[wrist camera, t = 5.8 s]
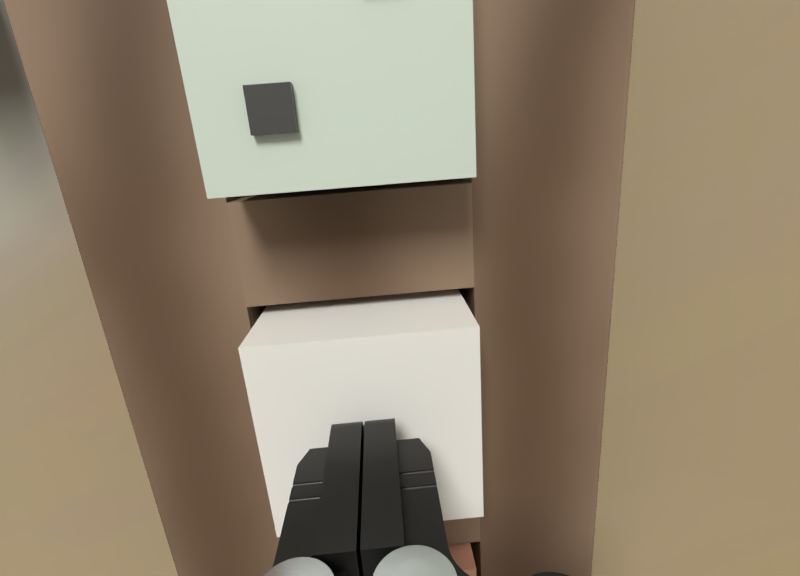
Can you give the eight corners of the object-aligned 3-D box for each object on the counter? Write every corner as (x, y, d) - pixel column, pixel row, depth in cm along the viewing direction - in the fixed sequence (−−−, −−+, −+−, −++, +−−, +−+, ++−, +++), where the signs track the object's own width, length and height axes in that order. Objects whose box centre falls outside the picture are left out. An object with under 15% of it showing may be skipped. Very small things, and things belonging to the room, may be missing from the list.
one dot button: (454, 282, 14) (481, 329, 10) (460, 436, 15) (485, 522, 12) (271, 298, 14) (235, 352, 10) (298, 451, 15) (275, 543, 12)
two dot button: (441, -67, 11) (471, -167, 7) (449, 168, 13) (478, 177, 9) (211, -52, 11) (131, -147, 7) (252, 184, 13) (204, 199, 9)
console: (557, -90, 14) (651, -213, 9) (538, 566, 22) (582, 681, 17) (100, -60, 13) (-49, -172, 9) (256, 595, 22) (222, 721, 17)
